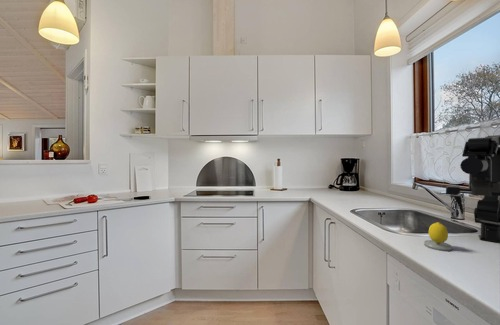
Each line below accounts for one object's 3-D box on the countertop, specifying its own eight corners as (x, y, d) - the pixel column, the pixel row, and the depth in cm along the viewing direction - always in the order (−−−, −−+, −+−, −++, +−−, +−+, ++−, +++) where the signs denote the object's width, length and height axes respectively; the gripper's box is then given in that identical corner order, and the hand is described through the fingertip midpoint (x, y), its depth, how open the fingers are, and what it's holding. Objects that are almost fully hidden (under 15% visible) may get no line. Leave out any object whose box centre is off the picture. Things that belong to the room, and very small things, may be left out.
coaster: (424, 241, 91) (424, 238, 91) (451, 246, 86) (451, 243, 86) (423, 247, 85) (423, 244, 85) (452, 253, 80) (452, 250, 80)
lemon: (438, 241, 89) (439, 220, 88) (451, 246, 83) (452, 224, 83) (424, 241, 88) (425, 220, 88) (436, 247, 83) (437, 224, 83)
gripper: (445, 173, 84) (445, 216, 85) (524, 175, 72) (523, 225, 72) (446, 171, 93) (446, 210, 93) (517, 173, 80) (516, 218, 81)
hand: (479, 215), depth 85 cm, fingers open, 9 cm apart
